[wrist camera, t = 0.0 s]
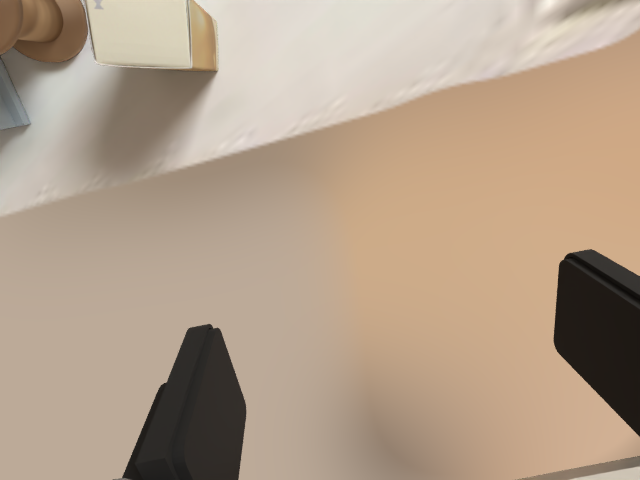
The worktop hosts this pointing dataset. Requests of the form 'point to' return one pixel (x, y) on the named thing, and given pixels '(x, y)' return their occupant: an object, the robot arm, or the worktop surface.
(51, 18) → the wooden mushroom
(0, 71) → the grey rectangular frame
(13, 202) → the worktop surface
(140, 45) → the skincare box
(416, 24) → the worktop surface
